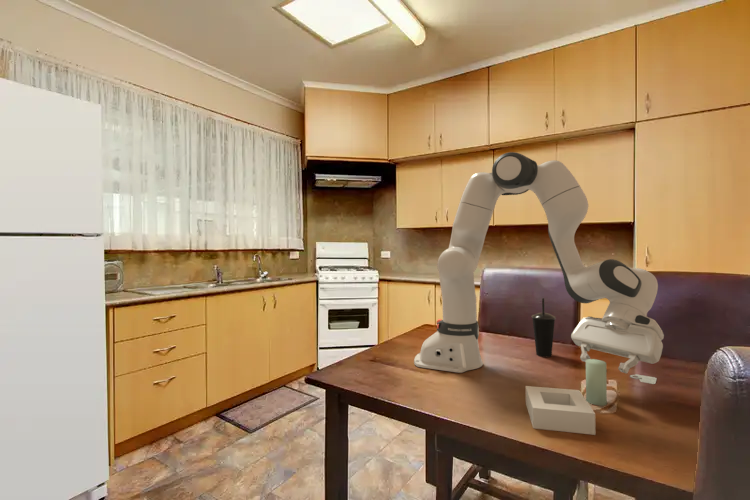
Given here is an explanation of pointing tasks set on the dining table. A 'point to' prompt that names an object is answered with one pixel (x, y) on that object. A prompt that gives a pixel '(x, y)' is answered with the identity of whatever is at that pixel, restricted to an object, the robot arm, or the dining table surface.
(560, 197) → the robot arm
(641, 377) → the mounting bracket
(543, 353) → the drinking cup
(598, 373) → the green dowel
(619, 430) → the dining table surface
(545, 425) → the well block
